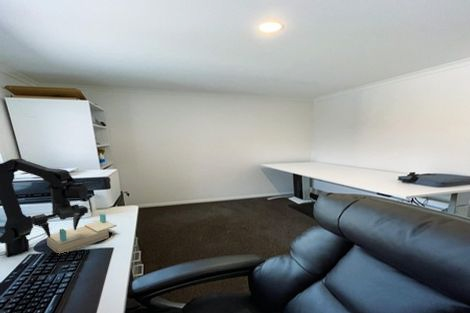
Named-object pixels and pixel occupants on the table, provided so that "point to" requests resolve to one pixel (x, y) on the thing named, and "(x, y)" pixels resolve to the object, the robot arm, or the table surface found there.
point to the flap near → (65, 236)
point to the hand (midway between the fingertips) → (62, 233)
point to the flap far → (101, 224)
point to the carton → (78, 240)
